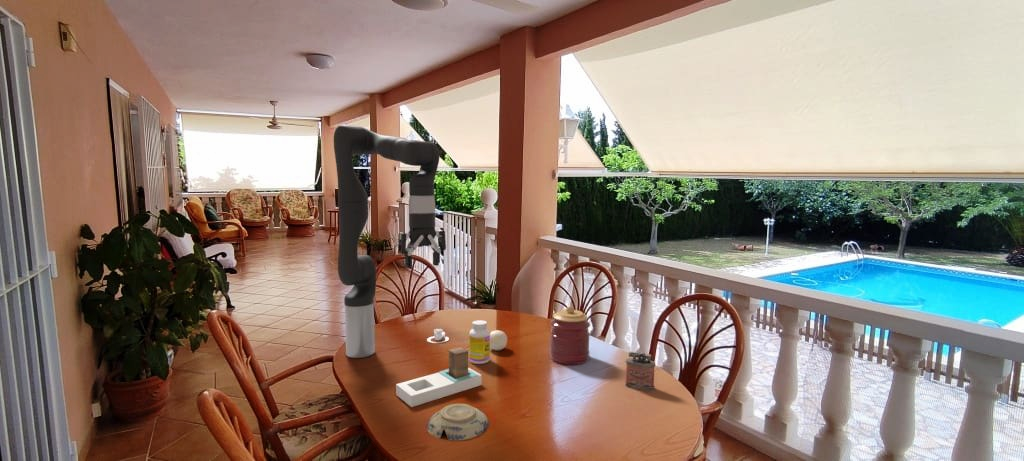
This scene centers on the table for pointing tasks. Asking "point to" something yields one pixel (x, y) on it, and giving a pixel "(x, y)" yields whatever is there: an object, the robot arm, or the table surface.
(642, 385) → the lighter
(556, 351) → the canister
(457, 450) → the table surface
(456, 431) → the decorative bowl
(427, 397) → the socket rail
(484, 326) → the supplement bottle
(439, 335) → the teacup and saucer
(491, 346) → the baseball
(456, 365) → the walnut peg
